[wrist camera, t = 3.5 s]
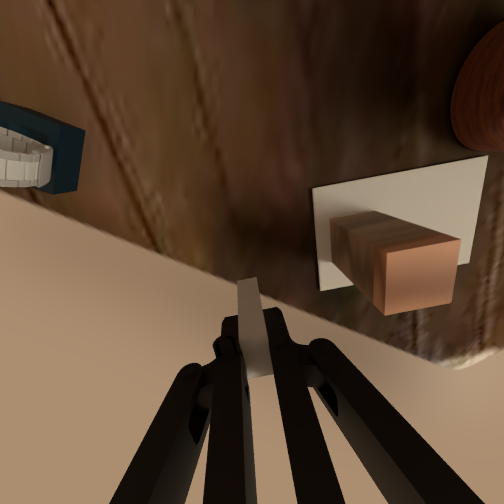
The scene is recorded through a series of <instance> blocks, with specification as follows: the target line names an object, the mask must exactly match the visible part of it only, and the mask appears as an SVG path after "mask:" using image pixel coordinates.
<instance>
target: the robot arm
mask: <svg viewBox="0 0 504 504" xmlns="http://www.w3.org/2000/svg"><path fill="white" fill-rule="evenodd" d="M237 289H238V315H235V316H229V317H225V319H224V320H223V322H222V328H221V329H222V330H221V336H220V337H218V338H217V339H216V340H215V341H214V343H213V349H214V352H215V355H216V359H215V360H213V361H212V362H210V363H209V364H207V365H204V366H201V365H200V364H198V363H190V364H188V365H186V366H184V367H183V368H182V369H181V370H180V371H179V373H178V374H177V376H176V378H175V380H174V381H173V384H172V385H171V387H170V389H169V391H168V393H167V395H166V397H165V399H164V401H163V402H162V404H161V406H160V408H159V410H158V412H157V414H156V416H155V418H154V419H153V421H152V423H151V425H150V427H149V429H148V431H147V433H146V435H145V437H144V438H143V441H142V442H141V444H140V446H139V448H138V450H137V452H136V454H135V456H134V457H133V459H132V461H131V463H130V465H129V467H128V469H127V471H126V473H125V475H124V476H123V478H122V480H121V482H120V484H119V486H118V488H117V490H116V492H115V494H114V496H113V497H112V499H111V501H110V503H109V504H185V501H186V497H187V495H188V491H189V488H190V485H191V482H192V478H193V475H194V472H195V469H196V466H197V462H198V459H199V456H200V453H201V449H202V446H203V443H204V440H205V437H206V433H207V430H208V427H209V424H210V431H209V442H208V453H207V464H206V474H205V485H204V496H203V504H257V494H256V479H255V464H254V449H253V435H252V421H251V406H250V392H249V385H248V381H247V376H248V379H250V378H255V377H261V376H265V375H271V374H274V378H275V384H276V389H277V395H278V399H279V405H280V411H281V416H282V422H283V427H284V433H285V438H286V444H287V449H288V454H289V460H290V465H291V471H292V476H293V481H294V487H295V493H296V498H297V503H298V504H345V501H344V498H343V495H342V491H341V489H340V485H339V482H338V479H337V476H336V473H335V470H334V467H333V464H332V461H331V458H330V455H329V452H328V449H327V445H326V442H325V440H324V436H323V433H322V430H321V427H320V424H319V421H318V418H317V415H316V412H315V408H314V406H313V402H312V400H311V396H310V393H309V390H308V387H313V388H314V390H315V391H316V393H317V394H318V396H319V398H320V399H321V401H322V402H323V404H324V405H325V407H326V408H327V410H328V411H329V413H330V414H331V416H332V418H333V419H334V421H335V422H336V424H337V425H338V427H339V428H340V430H341V431H342V433H343V434H344V436H345V437H346V439H347V441H348V442H349V444H350V445H351V447H352V448H353V450H354V451H355V453H356V454H357V456H358V458H359V459H360V461H361V462H362V464H363V465H364V467H365V468H366V470H367V471H368V473H369V474H370V476H371V478H372V479H373V481H374V482H375V484H376V485H377V487H378V488H379V490H380V491H381V493H382V494H383V496H384V497H385V499H386V500H387V502H388V504H485V503H483V501H482V500H481V499H480V498H479V497H478V496H477V495H476V494H475V493H474V492H473V491H472V490H471V489H470V487H468V485H467V484H466V483H465V482H464V481H463V480H462V479H461V478H460V477H459V476H458V475H457V474H456V473H455V472H454V471H453V469H452V468H451V467H450V466H449V465H447V463H446V462H445V461H444V460H443V459H442V458H441V457H440V456H439V455H438V454H437V453H436V452H435V450H434V449H433V448H432V447H431V446H430V445H429V444H428V443H427V442H426V441H425V440H424V439H423V438H422V437H421V436H420V434H418V433H417V431H416V430H415V429H414V428H413V427H412V426H411V425H410V424H409V423H408V422H407V421H406V420H405V419H404V418H403V417H402V416H401V414H400V413H399V412H398V411H397V410H396V409H395V408H394V407H393V406H392V405H391V404H390V403H389V402H388V401H387V400H386V398H385V397H384V396H383V395H382V394H381V393H380V392H379V391H378V390H377V389H376V388H375V387H374V386H373V385H372V384H371V383H370V382H369V380H367V378H366V377H365V376H364V375H363V374H362V373H361V372H360V371H359V370H358V369H357V368H356V367H355V366H354V365H353V364H352V362H351V361H350V360H349V359H348V358H347V357H346V356H345V355H344V354H343V353H342V352H341V351H340V350H339V349H338V348H337V347H336V345H335V344H334V343H333V342H331V341H330V340H327V339H324V338H319V339H314V340H313V341H311V342H310V344H309V345H301V344H297V343H295V342H294V341H292V339H291V338H290V336H289V333H288V330H287V326H286V323H285V320H284V317H283V314H282V311H281V310H280V309H279V308H278V307H274V308H268V309H263V310H262V305H261V300H260V294H259V289H258V284H257V279H256V277H255V278H250V279H245V280H239V281H237Z"/></svg>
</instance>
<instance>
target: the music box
mask: <svg viewBox="0 0 504 504" xmlns="http://www.w3.org/2000/svg"><path fill="white" fill-rule="evenodd" d="M450 115H451V123H452V128H453V131H454V133H455V135H456V137H457V138H458V140H459V141H460V142H461V143H462V144H463V145H464V146H466V147H467V148H469V149H472V150H475V151H504V21H502V22H501V23H499V24H498V25H496V26H495V27H494V28H492V29H491V30H490V31H489V32H488V33H487V34H486V35H485V36H484V37H483V38H482V39H481V40H480V41H479V42H478V43H477V45H476V46H475V47H474V48H473V50H472V51H471V53H470V54H469V56H468V57H467V59H466V61H465V62H464V64H463V66H462V68H461V70H460V72H459V75H458V77H457V80H456V83H455V86H454V89H453V93H452V98H451V108H450Z"/></svg>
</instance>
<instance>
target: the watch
mask: <svg viewBox="0 0 504 504" xmlns="http://www.w3.org/2000/svg"><path fill="white" fill-rule="evenodd" d="M84 136H85V130H82V129H80V128H77V127H75V126H72V125H70V124H67V123H65V122H62V121H60V120H57V119H55V118H52V117H50V116H47V115H45V114H42V113H39V112H37V111H34V110H32V109H29V108H25V107H21V106H17V105H14V104H10V103H6V102H2V101H0V186H1V187H32V188H35V189H38V190H41V191H44V192H47V193H50V194H53V195H54V194H60V193H65V192H71V191H77V185H78V178H79V171H80V164H81V157H82V150H83V143H84Z"/></svg>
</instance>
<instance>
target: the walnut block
mask: <svg viewBox="0 0 504 504" xmlns="http://www.w3.org/2000/svg"><path fill="white" fill-rule="evenodd" d="M329 221H330V240H331V258H332V263H333V264H334V265H335V266H336V267H337V268H338V269H339V270H340V271H341V272H342V273H343V274H344V275H345V276H346V277H347V278H348V279H349V280H350V281H351V282H352V283H353V284H354V285H355V286H356V287H357V288H358V289H359V290H360V291H361V292H362V293H363V294H364V295H365V296H366V297H367V298H368V299H369V300H370V301H371V302H372V303H373V304H374V305H375V306H376V307H377V308H378V309H379V310H380V311H381V312H382V313H383V314H384V315H390V314H395V313H400V312H406V311H411V310H416V309H421V308H427V307H432V306H437V305H442V304H448V303H451V301H452V295H453V288H454V282H455V276H456V270H457V264H458V257H459V251H460V245H461V239H459V238H456V237H453V236H450V235H447V234H444V233H441V232H438V231H435V230H432V229H429V228H426V227H423V226H420V225H417V224H414V223H411V222H408V221H405V220H402V219H399V218H396V217H393V216H390V215H387V214H384V213H381V212H378V211H372V212H367V213H361V214H356V215H351V216H346V217H340V218H335V219H330V220H329Z"/></svg>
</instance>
